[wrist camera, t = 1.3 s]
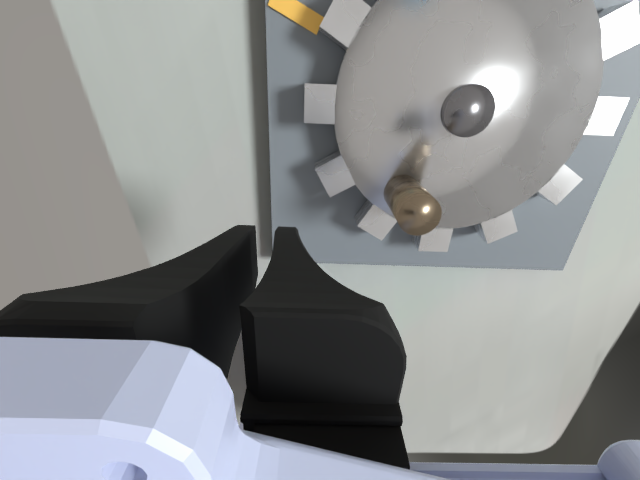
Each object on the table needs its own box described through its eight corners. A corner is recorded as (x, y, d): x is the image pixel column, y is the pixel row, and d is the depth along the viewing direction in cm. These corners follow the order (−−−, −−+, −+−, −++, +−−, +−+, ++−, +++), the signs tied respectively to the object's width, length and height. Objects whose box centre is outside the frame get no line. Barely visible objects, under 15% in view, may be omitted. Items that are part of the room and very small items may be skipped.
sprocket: (546, 245, 21) (607, 288, 16) (302, 237, 20) (298, 279, 16) (678, -83, 14) (848, -161, 9) (309, -106, 13) (305, -198, 9)
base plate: (553, 263, 23) (563, 271, 22) (274, 254, 22) (272, 262, 21) (719, -130, 14) (750, -146, 13) (263, -159, 13) (259, -177, 12)
